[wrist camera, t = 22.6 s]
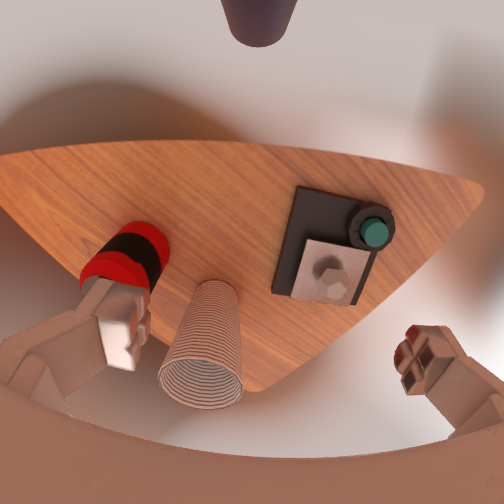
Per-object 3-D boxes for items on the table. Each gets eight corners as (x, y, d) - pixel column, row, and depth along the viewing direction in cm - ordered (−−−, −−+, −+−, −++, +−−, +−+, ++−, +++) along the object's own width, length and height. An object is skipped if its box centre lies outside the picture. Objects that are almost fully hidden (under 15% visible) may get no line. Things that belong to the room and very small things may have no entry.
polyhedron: (307, 281, 35) (312, 297, 32) (325, 256, 34) (331, 270, 31) (334, 294, 36) (340, 309, 33) (351, 270, 34) (359, 284, 31)
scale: (297, 181, 33) (301, 187, 31) (391, 204, 34) (401, 212, 31) (270, 287, 39) (272, 300, 37) (355, 300, 40) (361, 312, 38)
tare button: (364, 214, 32) (369, 220, 30) (386, 220, 32) (392, 225, 31) (356, 238, 33) (361, 244, 32) (378, 243, 34) (383, 249, 32)
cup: (241, 266, 38) (234, 355, 24) (252, 318, 42) (250, 408, 28) (178, 274, 39) (144, 359, 25) (194, 324, 42) (174, 410, 29)
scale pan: (306, 237, 33) (307, 239, 33) (369, 250, 34) (370, 251, 33) (289, 296, 36) (289, 298, 36) (348, 304, 37) (348, 306, 37)
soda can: (175, 230, 36) (144, 281, 25) (164, 280, 39) (136, 339, 28) (121, 213, 35) (73, 256, 24) (114, 263, 38) (74, 315, 27)
